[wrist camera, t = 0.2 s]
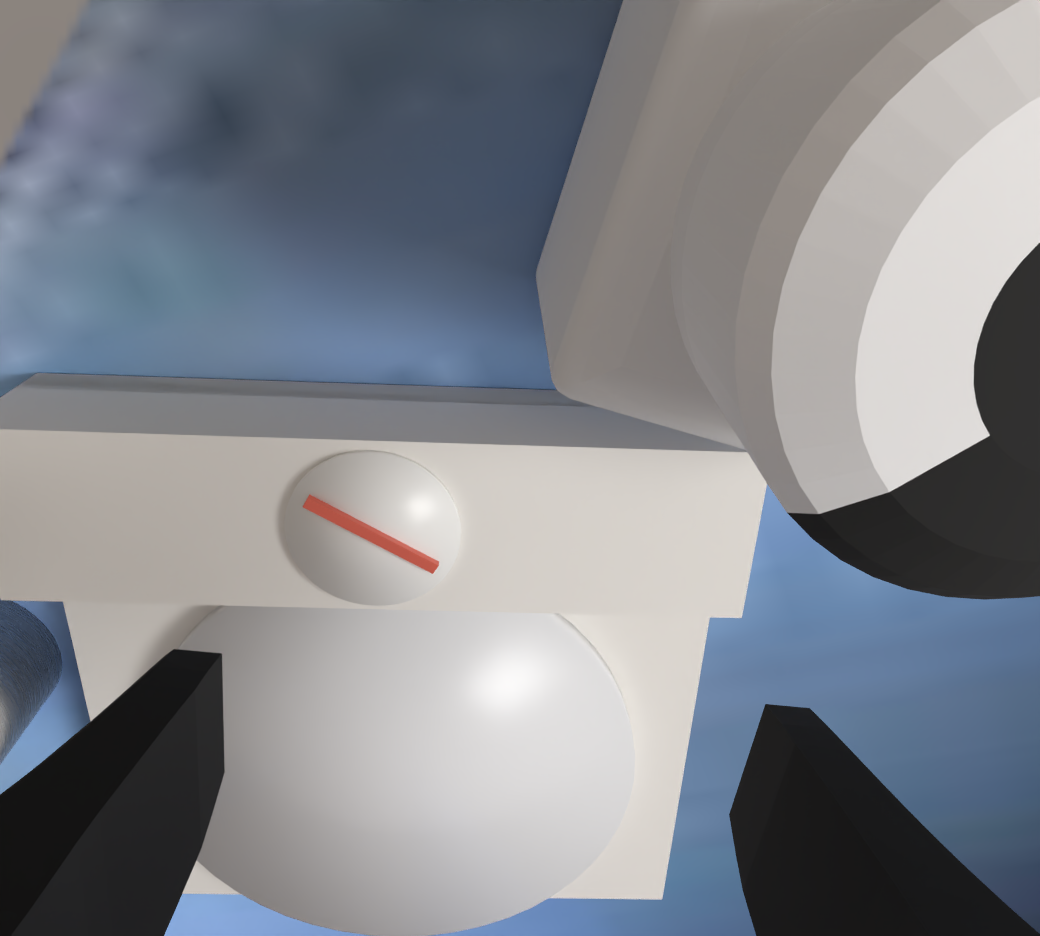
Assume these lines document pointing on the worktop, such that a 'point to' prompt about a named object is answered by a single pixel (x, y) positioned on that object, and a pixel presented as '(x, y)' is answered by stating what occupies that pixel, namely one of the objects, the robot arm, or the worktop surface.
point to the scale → (394, 623)
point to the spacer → (23, 671)
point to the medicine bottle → (823, 266)
